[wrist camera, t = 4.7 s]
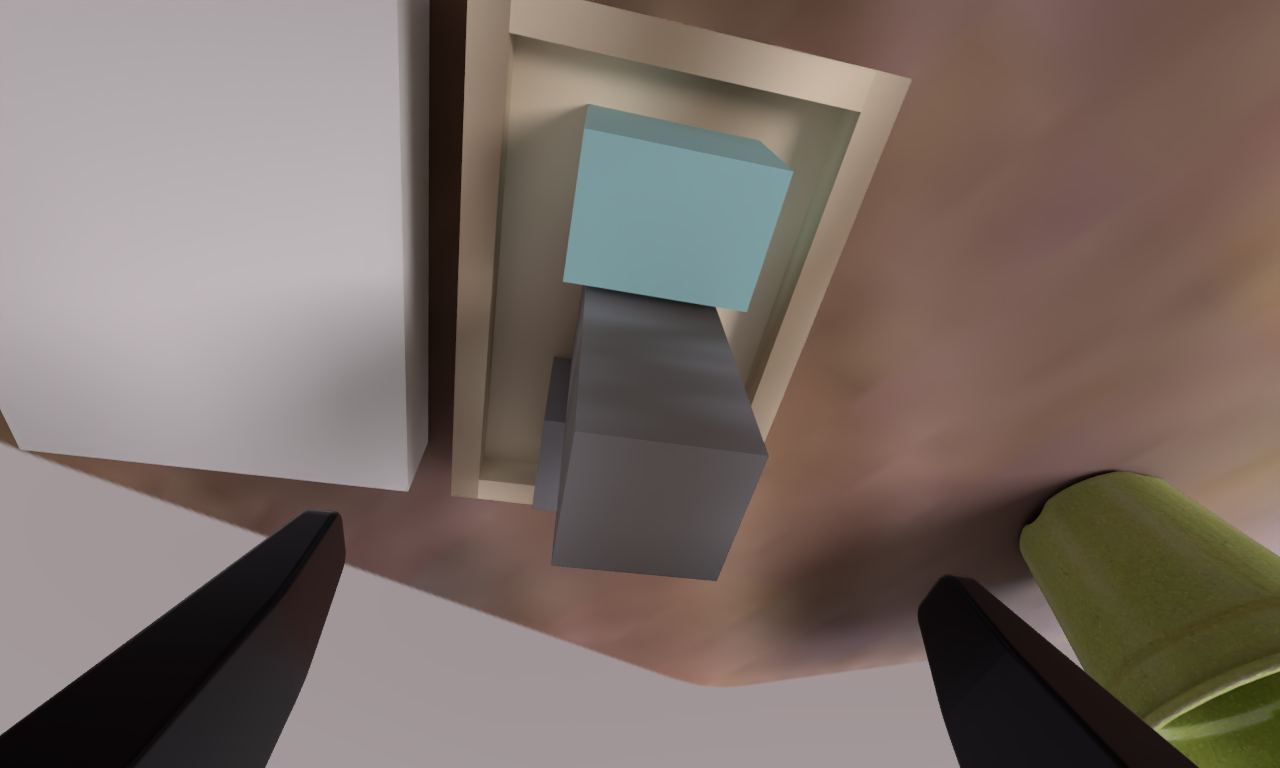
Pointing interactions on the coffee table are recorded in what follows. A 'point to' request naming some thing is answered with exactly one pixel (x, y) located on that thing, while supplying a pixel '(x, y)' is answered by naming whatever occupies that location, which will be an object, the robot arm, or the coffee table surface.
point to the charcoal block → (552, 437)
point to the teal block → (672, 209)
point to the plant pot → (1167, 612)
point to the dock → (217, 234)
